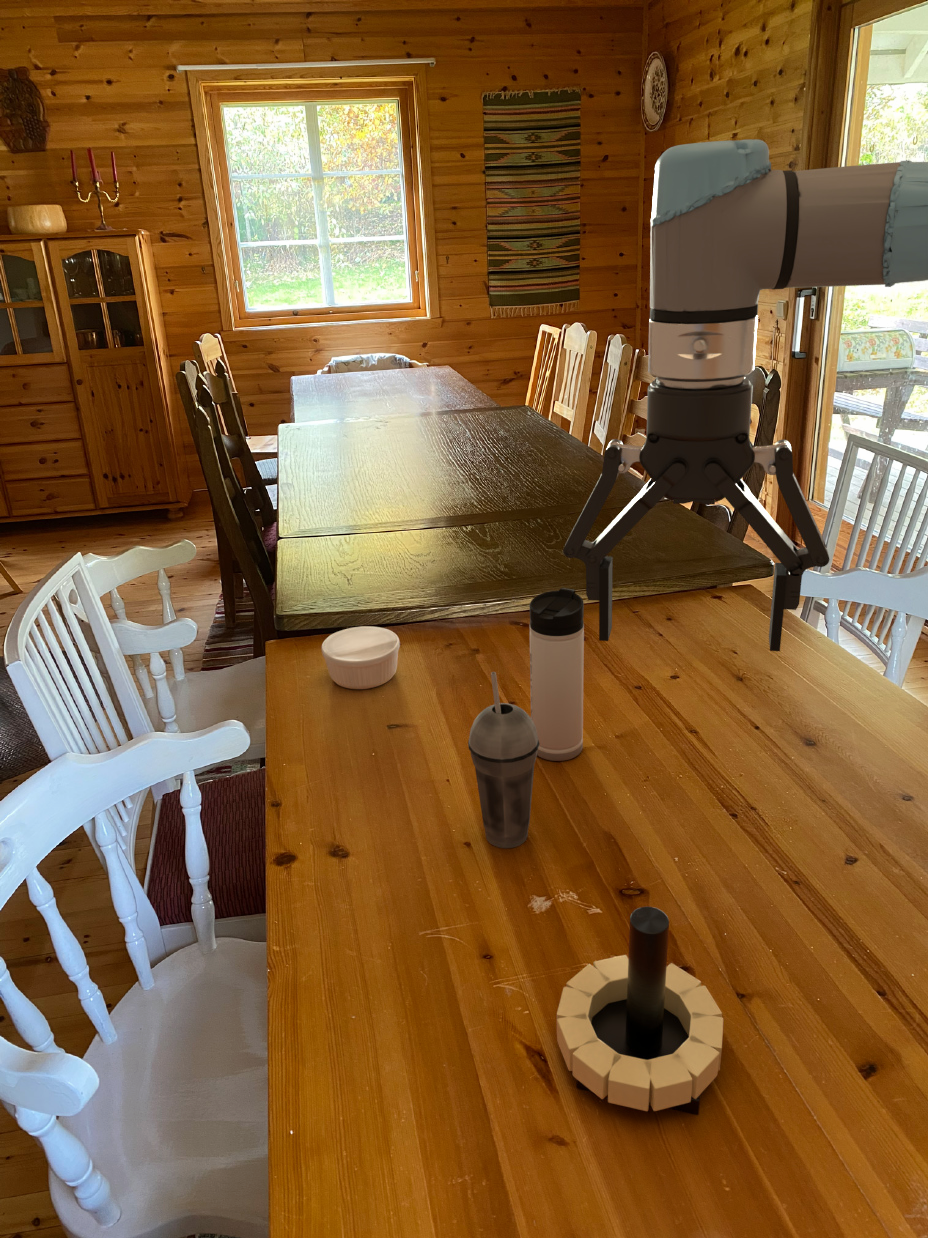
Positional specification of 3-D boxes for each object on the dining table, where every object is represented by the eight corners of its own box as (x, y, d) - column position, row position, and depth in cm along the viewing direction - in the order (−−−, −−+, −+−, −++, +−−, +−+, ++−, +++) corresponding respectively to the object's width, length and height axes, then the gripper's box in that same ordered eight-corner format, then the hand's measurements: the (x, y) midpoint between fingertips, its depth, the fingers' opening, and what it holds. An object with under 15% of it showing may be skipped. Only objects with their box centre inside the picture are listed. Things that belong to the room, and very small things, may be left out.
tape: (724, 993, 75) (726, 971, 74) (716, 1128, 64) (718, 1104, 63) (574, 965, 79) (574, 944, 78) (543, 1088, 68) (543, 1065, 67)
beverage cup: (554, 831, 98) (553, 664, 89) (511, 866, 93) (506, 693, 85) (502, 806, 102) (496, 645, 94) (458, 838, 97) (448, 671, 89)
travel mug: (591, 740, 114) (594, 592, 105) (569, 767, 109) (570, 613, 100) (546, 729, 117) (545, 583, 108) (522, 754, 112) (519, 604, 103)
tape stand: (704, 1018, 75) (716, 888, 69) (698, 1115, 67) (710, 977, 61) (595, 997, 77) (597, 870, 72) (576, 1088, 69) (577, 953, 64)
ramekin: (371, 701, 125) (368, 666, 123) (308, 683, 131) (304, 650, 129) (417, 667, 134) (414, 634, 132) (356, 652, 139) (353, 620, 137)
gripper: (523, 389, 67) (531, 649, 76) (892, 385, 61) (854, 669, 69) (541, 371, 74) (547, 612, 82) (876, 366, 67) (844, 628, 76)
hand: (687, 639), depth 76 cm, fingers open, 13 cm apart
